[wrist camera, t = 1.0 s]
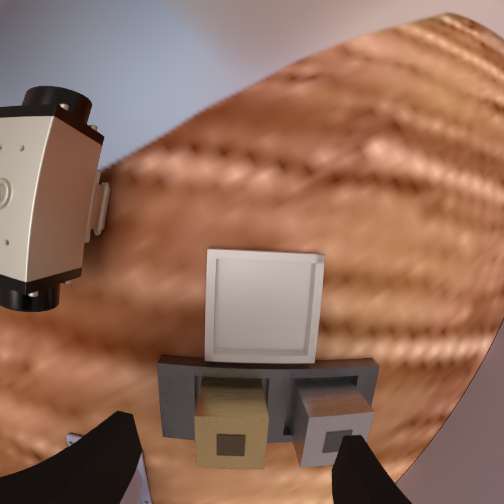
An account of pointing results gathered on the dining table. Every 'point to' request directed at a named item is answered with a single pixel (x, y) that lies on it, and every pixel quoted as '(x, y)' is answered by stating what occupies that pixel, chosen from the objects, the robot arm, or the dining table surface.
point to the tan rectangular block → (231, 423)
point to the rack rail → (272, 374)
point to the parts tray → (262, 305)
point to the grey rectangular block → (325, 417)
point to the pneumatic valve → (47, 195)
